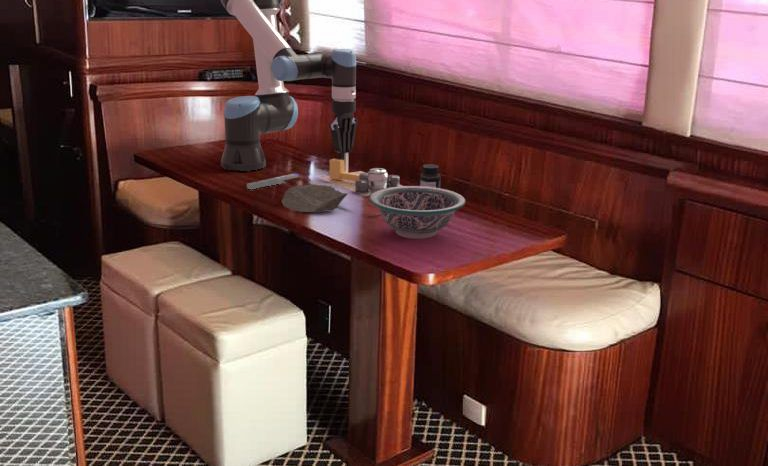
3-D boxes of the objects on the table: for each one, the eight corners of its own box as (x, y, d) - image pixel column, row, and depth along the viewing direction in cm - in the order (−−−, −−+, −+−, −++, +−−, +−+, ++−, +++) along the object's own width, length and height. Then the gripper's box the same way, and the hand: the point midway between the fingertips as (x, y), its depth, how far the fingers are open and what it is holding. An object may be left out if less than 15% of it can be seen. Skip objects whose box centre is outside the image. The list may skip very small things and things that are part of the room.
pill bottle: (428, 198, 256) (430, 162, 253) (444, 202, 252) (445, 166, 249) (414, 201, 252) (416, 165, 249) (430, 206, 248) (431, 169, 245)
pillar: (246, 183, 261) (295, 173, 275) (247, 190, 262) (295, 179, 276) (251, 185, 260) (300, 174, 274) (251, 191, 260) (300, 180, 274)
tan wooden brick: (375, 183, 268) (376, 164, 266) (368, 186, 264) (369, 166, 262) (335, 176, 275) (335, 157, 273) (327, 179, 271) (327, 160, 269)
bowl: (424, 255, 207) (425, 217, 204) (349, 232, 222) (349, 197, 219) (482, 232, 225) (484, 198, 222) (409, 213, 241) (410, 181, 238)
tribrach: (317, 180, 274) (317, 158, 271) (360, 173, 283) (361, 152, 281) (364, 199, 254) (364, 175, 252) (408, 191, 264) (409, 168, 261)
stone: (268, 198, 246) (305, 175, 254) (272, 211, 248) (308, 187, 257) (314, 213, 233) (351, 188, 242) (317, 226, 236) (354, 201, 244)
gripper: (341, 103, 260) (341, 178, 267) (365, 98, 270) (364, 170, 277) (321, 100, 264) (322, 174, 271) (346, 95, 274) (345, 166, 281)
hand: (343, 172), depth 274 cm, fingers closed
